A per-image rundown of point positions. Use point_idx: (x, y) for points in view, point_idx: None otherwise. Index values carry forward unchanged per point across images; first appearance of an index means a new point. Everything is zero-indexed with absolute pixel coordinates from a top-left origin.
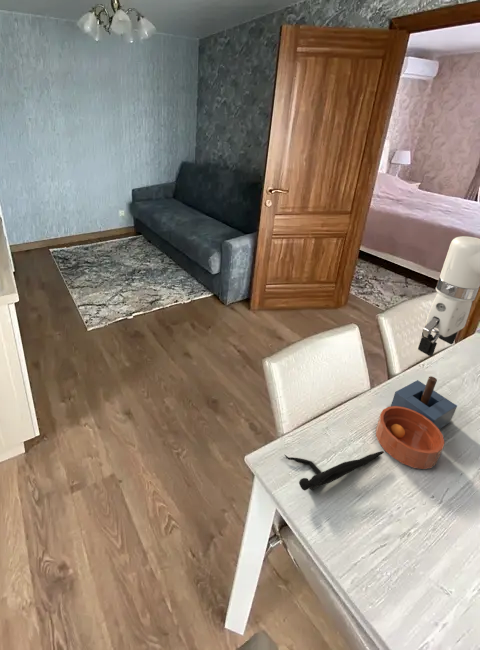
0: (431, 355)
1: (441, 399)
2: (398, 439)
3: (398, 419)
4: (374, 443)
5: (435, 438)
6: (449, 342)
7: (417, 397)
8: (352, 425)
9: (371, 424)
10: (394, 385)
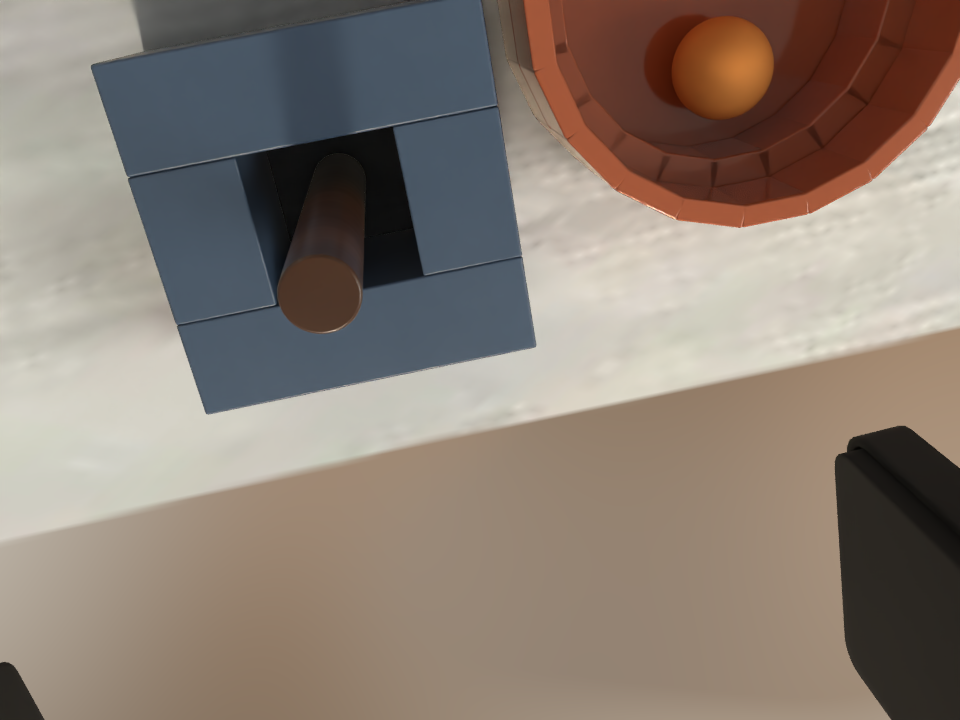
0: (910, 435)
1: (184, 171)
2: None
3: (649, 144)
4: None
5: None
6: (12, 705)
7: None
8: (891, 228)
9: None
10: (292, 453)
